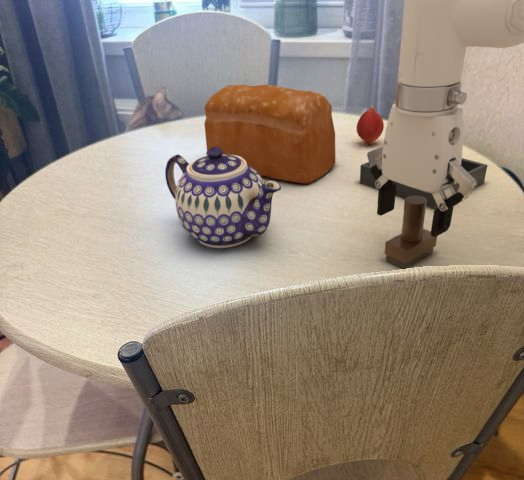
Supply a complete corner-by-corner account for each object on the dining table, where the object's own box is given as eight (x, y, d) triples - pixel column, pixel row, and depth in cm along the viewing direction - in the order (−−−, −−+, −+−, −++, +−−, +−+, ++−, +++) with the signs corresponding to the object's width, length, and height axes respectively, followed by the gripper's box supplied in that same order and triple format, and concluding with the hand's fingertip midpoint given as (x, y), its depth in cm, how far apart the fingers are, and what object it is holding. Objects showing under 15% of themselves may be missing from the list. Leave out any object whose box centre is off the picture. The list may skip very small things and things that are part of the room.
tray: (484, 183, 99) (487, 164, 97) (434, 209, 92) (437, 189, 90) (408, 161, 110) (410, 144, 108) (359, 182, 103) (360, 165, 101)
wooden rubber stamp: (413, 244, 84) (420, 188, 78) (434, 253, 81) (443, 195, 75) (383, 260, 80) (388, 203, 75) (404, 270, 78) (411, 212, 72)
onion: (354, 148, 118) (355, 110, 113) (358, 139, 122) (359, 102, 117) (380, 148, 117) (383, 110, 112) (383, 139, 121) (386, 102, 116)
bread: (240, 147, 124) (233, 74, 114) (340, 164, 112) (342, 82, 102) (203, 168, 116) (191, 91, 106) (307, 188, 103) (304, 103, 93)
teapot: (146, 232, 94) (126, 148, 85) (208, 201, 102) (195, 121, 93) (249, 275, 80) (238, 180, 71) (310, 236, 88) (308, 146, 79)
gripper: (507, 100, 63) (479, 233, 73) (392, 79, 73) (382, 197, 84) (469, 116, 59) (445, 252, 70) (354, 91, 70) (349, 212, 81)
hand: (411, 222), depth 77 cm, fingers open, 9 cm apart
